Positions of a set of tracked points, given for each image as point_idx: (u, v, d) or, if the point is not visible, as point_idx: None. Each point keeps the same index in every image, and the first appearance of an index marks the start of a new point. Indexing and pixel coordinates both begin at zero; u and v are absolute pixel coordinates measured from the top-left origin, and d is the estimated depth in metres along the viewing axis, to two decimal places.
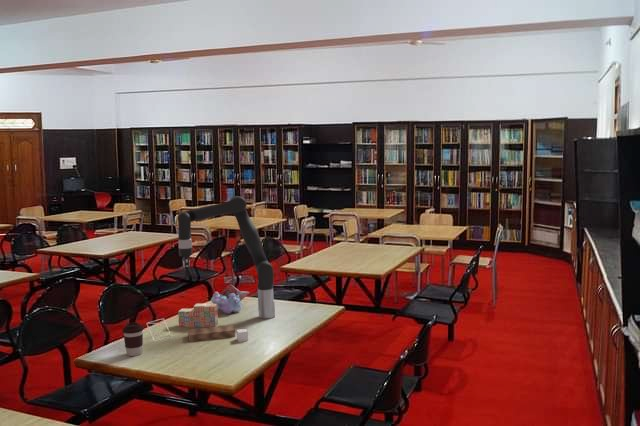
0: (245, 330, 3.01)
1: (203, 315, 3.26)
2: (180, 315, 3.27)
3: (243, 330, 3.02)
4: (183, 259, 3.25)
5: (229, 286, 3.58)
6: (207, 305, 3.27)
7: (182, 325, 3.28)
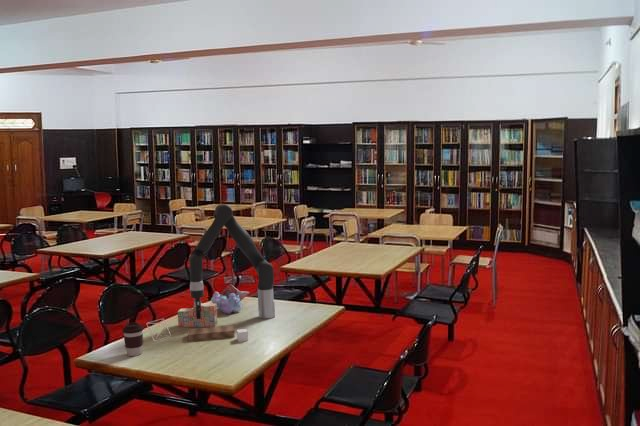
0: (245, 330, 3.01)
1: (203, 315, 3.26)
2: (179, 315, 3.27)
3: (243, 330, 3.02)
4: (194, 301, 3.26)
5: (229, 286, 3.58)
6: (207, 305, 3.27)
7: (181, 325, 3.27)
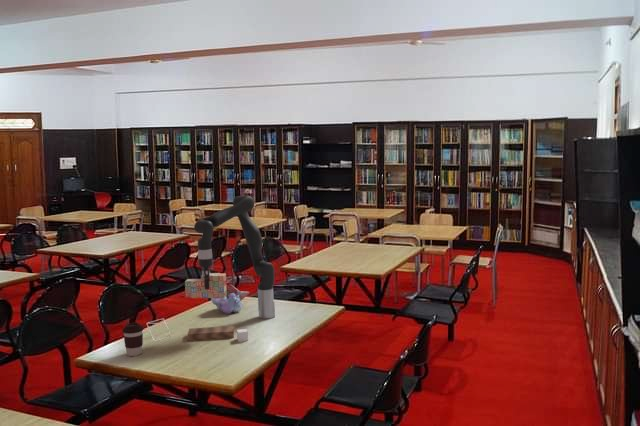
0: (245, 330, 3.01)
1: (211, 285, 3.06)
2: (187, 285, 3.07)
3: (243, 330, 3.02)
4: (203, 270, 3.07)
5: (229, 286, 3.58)
6: (216, 274, 3.07)
7: (189, 296, 3.08)
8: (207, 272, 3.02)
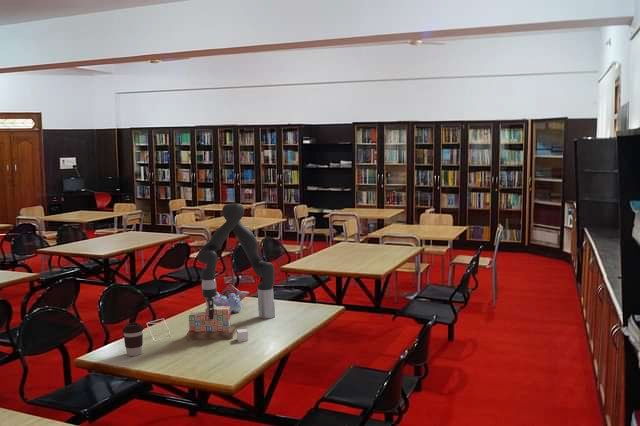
0: (245, 330, 3.01)
1: (216, 318, 3.05)
2: (191, 319, 3.06)
3: (243, 330, 3.02)
4: (207, 300, 3.05)
5: (229, 286, 3.58)
6: (220, 308, 3.07)
7: (193, 330, 3.07)
8: (211, 302, 3.01)
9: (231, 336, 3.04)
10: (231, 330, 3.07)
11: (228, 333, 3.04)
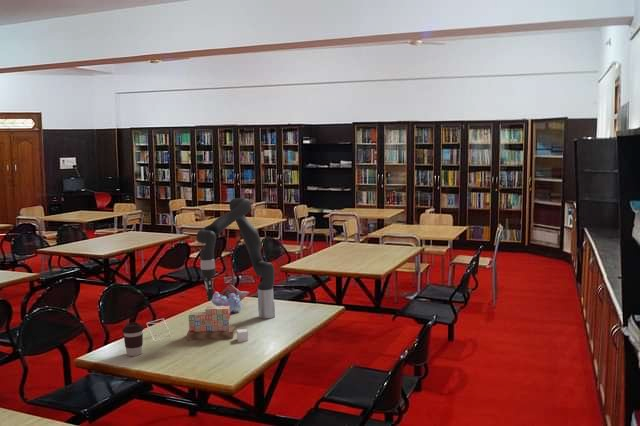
0: (245, 330, 3.01)
1: (216, 318, 3.05)
2: (191, 319, 3.05)
3: (243, 330, 3.02)
4: (205, 281, 3.04)
5: (229, 286, 3.58)
6: (220, 308, 3.07)
7: (193, 330, 3.06)
8: (210, 282, 3.00)
9: (231, 336, 3.05)
10: (231, 330, 3.08)
11: (228, 333, 3.04)
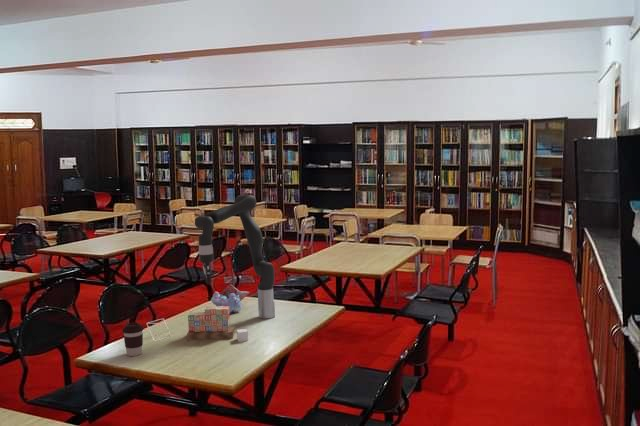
0: (245, 330, 3.01)
1: (215, 318, 3.05)
2: (190, 319, 3.05)
3: (243, 330, 3.02)
4: (204, 266, 3.08)
5: (229, 286, 3.58)
6: (219, 308, 3.07)
7: (192, 330, 3.06)
8: (209, 267, 3.03)
9: (231, 336, 3.05)
10: (231, 330, 3.08)
11: (228, 333, 3.04)
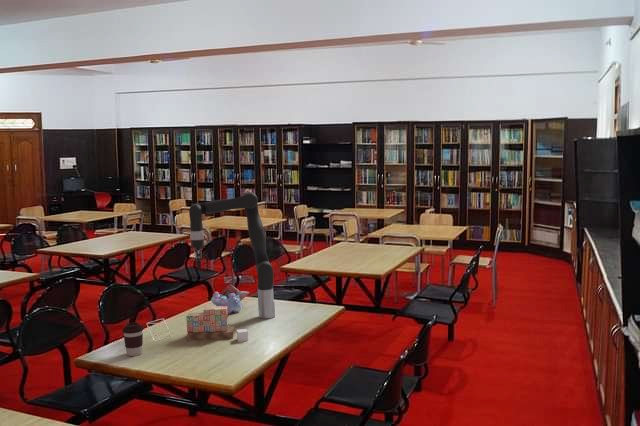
0: (245, 330, 3.01)
1: (214, 319, 3.05)
2: (188, 320, 3.05)
3: (243, 330, 3.02)
4: (195, 250, 3.31)
5: (229, 286, 3.58)
6: (218, 308, 3.06)
7: (190, 330, 3.05)
8: (199, 251, 3.26)
9: (231, 336, 3.04)
10: (231, 330, 3.07)
11: (228, 333, 3.04)
